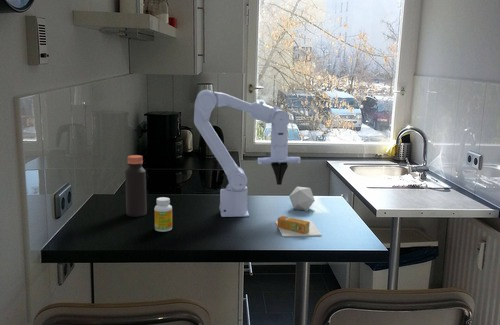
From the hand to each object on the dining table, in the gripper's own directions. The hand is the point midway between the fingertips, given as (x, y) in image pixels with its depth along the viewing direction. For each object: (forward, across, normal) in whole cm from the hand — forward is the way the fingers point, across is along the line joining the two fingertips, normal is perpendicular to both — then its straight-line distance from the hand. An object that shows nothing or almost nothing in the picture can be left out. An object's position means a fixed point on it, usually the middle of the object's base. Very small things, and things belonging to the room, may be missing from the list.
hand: (279, 184), depth 171 cm
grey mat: (+10, +3, -17) cm, 20 cm away
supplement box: (+8, -3, -16) cm, 18 cm away
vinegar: (+9, -49, +1) cm, 50 cm away
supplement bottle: (+10, -39, -15) cm, 43 cm away
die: (+11, +9, +5) cm, 15 cm away
